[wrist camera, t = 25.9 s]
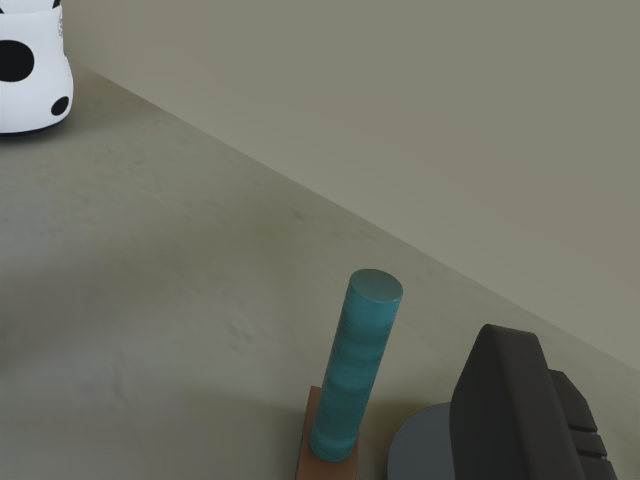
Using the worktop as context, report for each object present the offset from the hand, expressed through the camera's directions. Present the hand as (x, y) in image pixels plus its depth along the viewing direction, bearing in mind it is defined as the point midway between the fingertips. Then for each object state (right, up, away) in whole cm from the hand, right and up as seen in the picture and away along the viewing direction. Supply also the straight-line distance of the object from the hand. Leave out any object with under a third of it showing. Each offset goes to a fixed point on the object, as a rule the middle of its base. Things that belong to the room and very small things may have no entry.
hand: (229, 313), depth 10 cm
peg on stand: (+2, -14, +28) cm, 31 cm away
